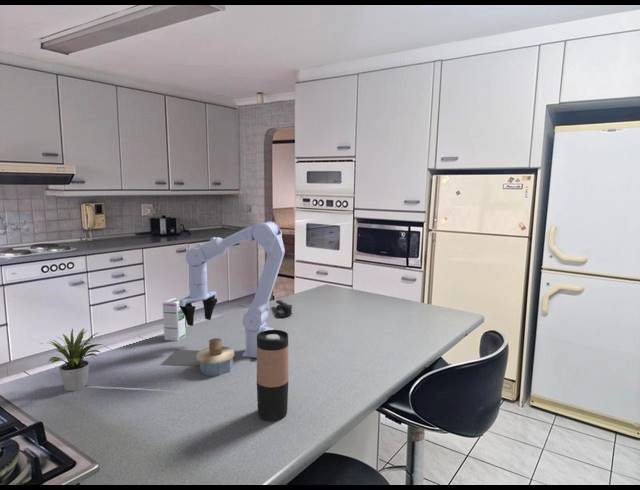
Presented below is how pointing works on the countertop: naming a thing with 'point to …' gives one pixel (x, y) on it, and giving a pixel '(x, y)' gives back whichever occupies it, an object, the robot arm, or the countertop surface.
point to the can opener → (283, 308)
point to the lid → (215, 353)
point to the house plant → (74, 361)
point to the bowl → (216, 368)
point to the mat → (182, 358)
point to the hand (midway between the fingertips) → (199, 322)
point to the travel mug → (272, 374)
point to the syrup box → (174, 320)
